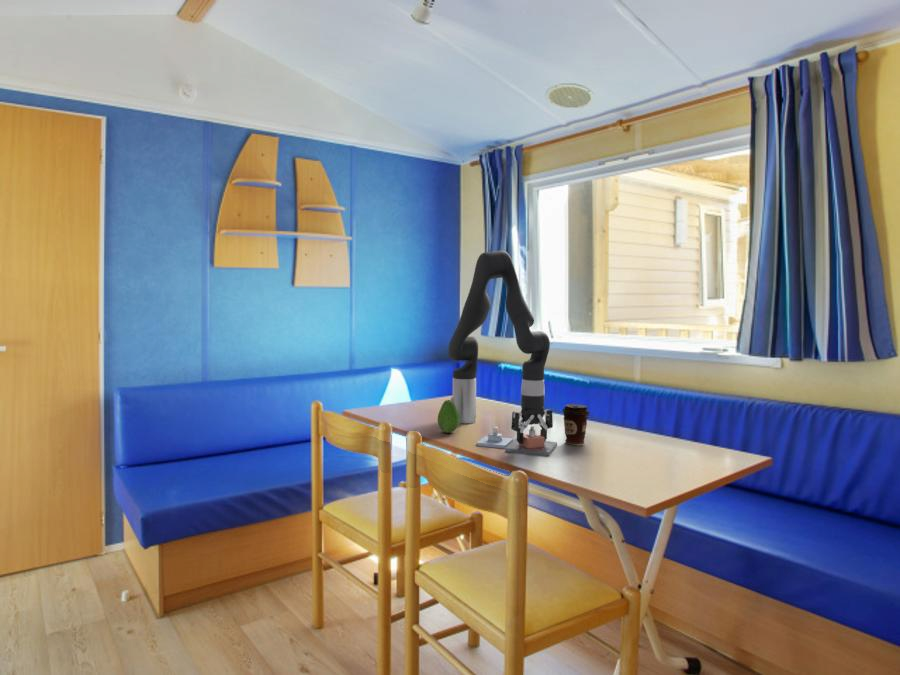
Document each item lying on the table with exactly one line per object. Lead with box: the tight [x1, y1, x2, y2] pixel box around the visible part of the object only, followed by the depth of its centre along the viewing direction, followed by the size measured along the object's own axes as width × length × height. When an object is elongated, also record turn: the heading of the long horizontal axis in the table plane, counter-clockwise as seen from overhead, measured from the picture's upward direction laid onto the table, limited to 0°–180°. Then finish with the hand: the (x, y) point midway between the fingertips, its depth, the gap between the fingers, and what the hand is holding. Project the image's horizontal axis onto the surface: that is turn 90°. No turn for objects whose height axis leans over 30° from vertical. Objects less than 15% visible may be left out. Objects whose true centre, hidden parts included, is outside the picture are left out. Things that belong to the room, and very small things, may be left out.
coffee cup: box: [562, 403, 590, 447], centre depth 207 cm, size 9×8×13 cm
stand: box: [475, 426, 514, 449], centre depth 206 cm, size 10×10×6 cm
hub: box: [504, 426, 558, 457], centre depth 200 cm, size 14×14×7 cm
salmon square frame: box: [520, 433, 545, 448], centre depth 200 cm, size 6×6×3 cm
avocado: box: [437, 399, 460, 434], centre depth 221 cm, size 8×8×12 cm
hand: (531, 442), depth 200 cm, fingers open, 8 cm apart
